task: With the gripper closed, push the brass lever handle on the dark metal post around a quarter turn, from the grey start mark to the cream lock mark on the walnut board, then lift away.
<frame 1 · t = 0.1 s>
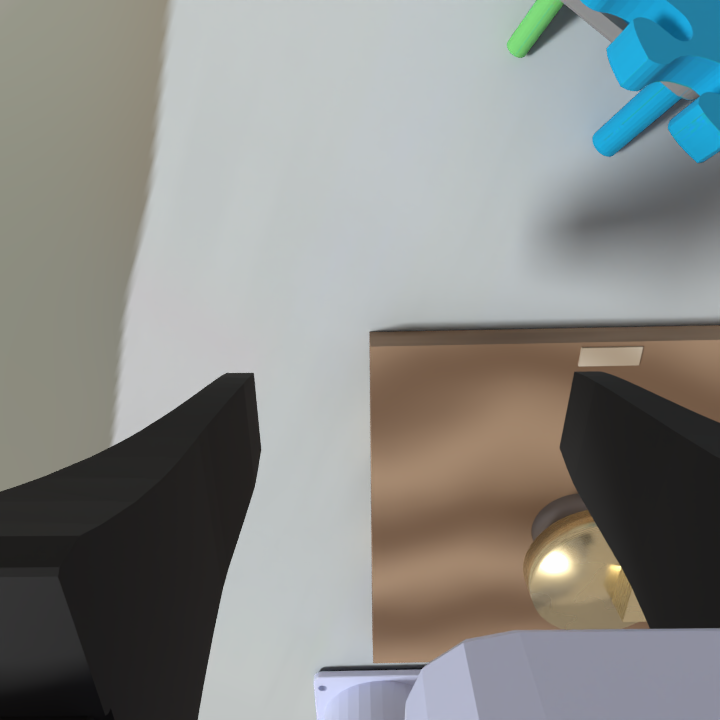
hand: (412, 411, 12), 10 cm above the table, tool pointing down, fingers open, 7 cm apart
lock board: (562, 505, 26), on the table
gear: (647, 36, 18), on the table
lever handle: (663, 581, 22), point 5 cm above the table, hinge at 0.0°
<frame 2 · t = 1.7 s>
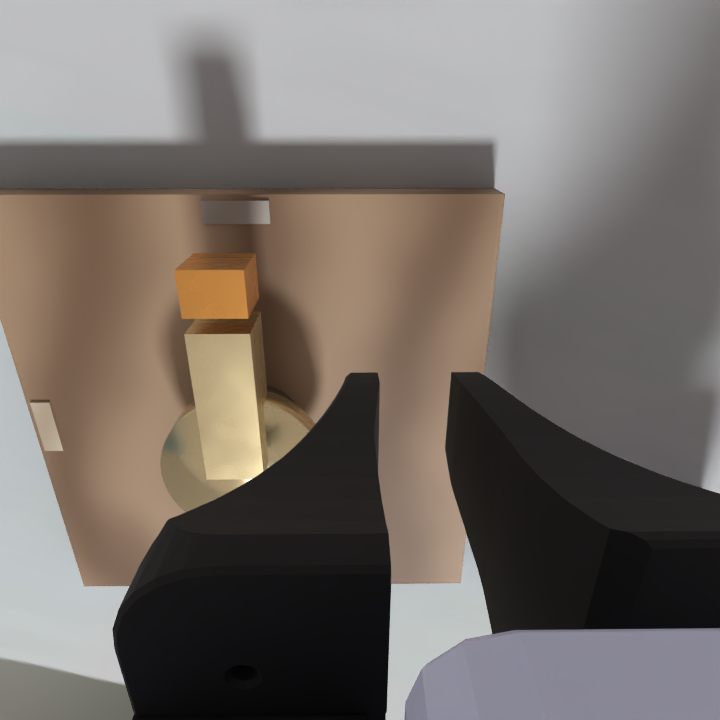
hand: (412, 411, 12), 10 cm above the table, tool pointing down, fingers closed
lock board: (262, 407, 24), on the table
lever handle: (236, 413, 18), point 5 cm above the table, hinge at 0.0°
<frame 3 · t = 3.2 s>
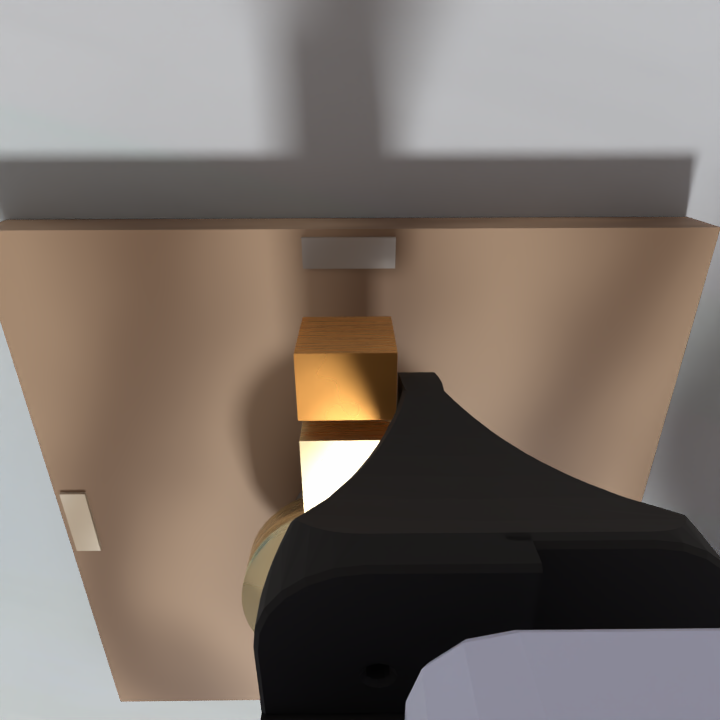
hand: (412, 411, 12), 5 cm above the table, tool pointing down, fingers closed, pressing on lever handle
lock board: (351, 489, 19), on the table
lever handle: (350, 530, 13), point 5 cm above the table, hinge at 0.3°, touching gripper
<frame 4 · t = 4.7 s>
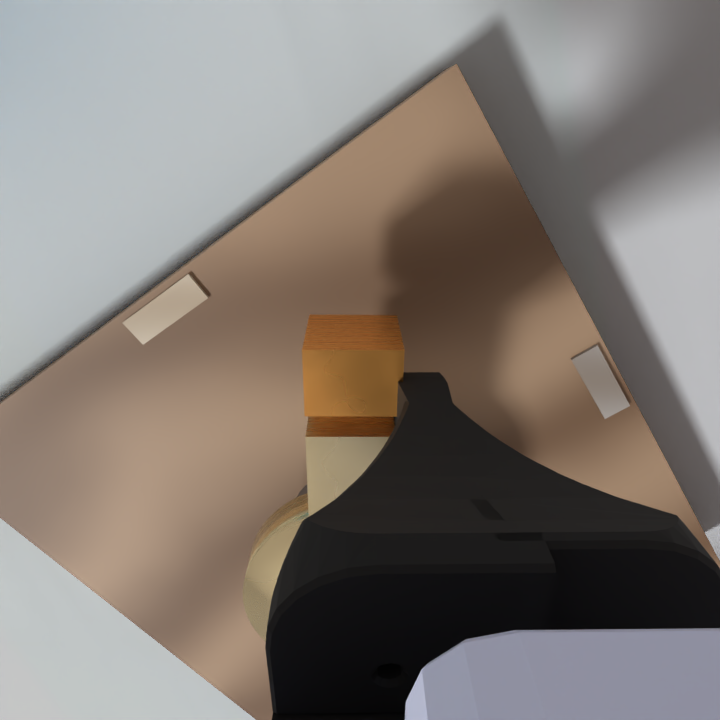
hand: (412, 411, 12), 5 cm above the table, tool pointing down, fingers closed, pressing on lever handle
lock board: (351, 488, 19), on the table
lever handle: (352, 527, 14), point 5 cm above the table, hinge at 55.1°, touching gripper
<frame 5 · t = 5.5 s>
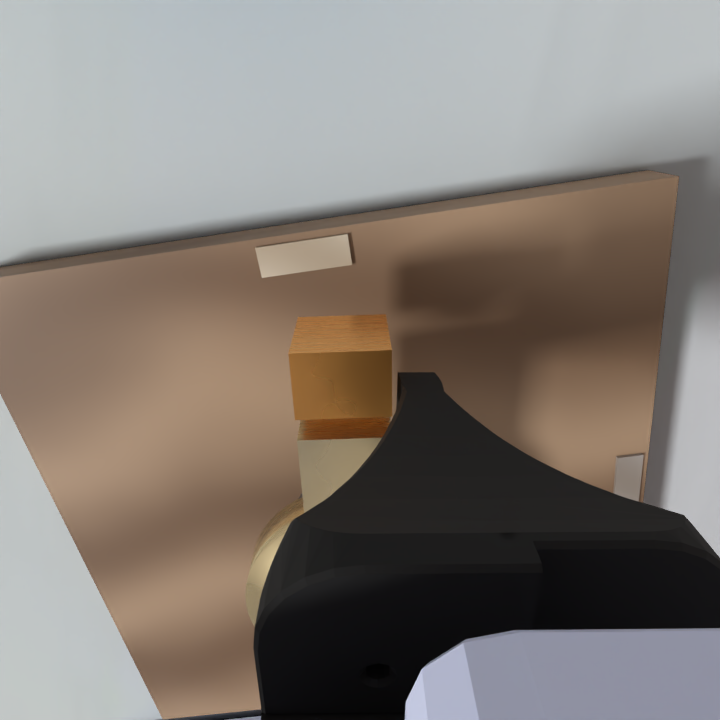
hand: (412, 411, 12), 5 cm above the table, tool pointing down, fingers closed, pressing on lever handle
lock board: (354, 488, 19), on the table
lever handle: (351, 529, 13), point 5 cm above the table, hinge at 83.7°, touching gripper
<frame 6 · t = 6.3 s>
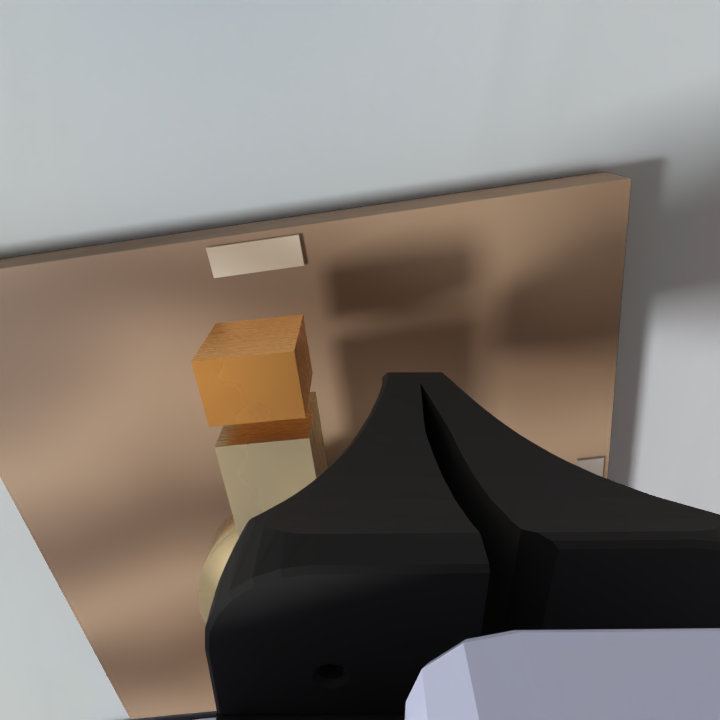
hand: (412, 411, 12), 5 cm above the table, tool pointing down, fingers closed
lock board: (318, 489, 19), on the table
lever handle: (293, 531, 13), point 5 cm above the table, hinge at 88.1°
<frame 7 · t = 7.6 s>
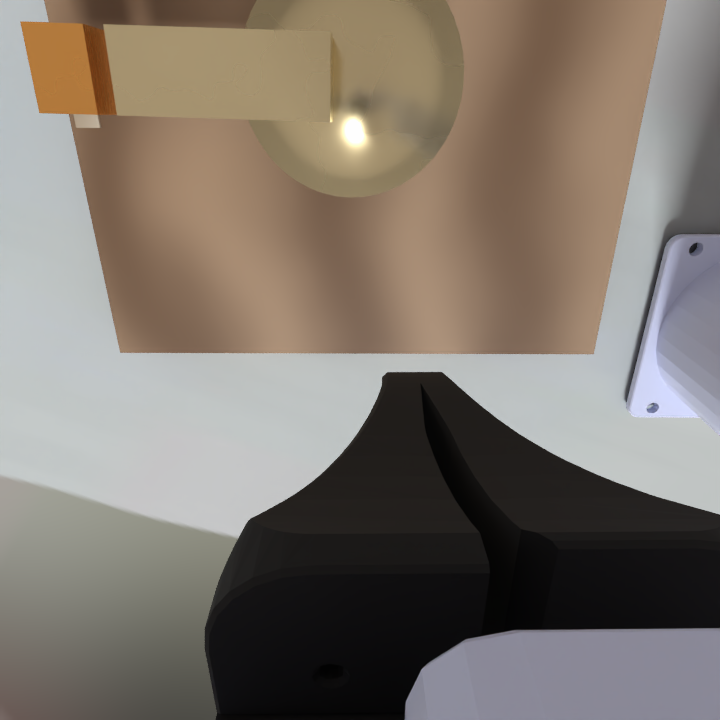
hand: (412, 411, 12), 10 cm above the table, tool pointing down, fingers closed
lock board: (355, 88, 18), on the table
lever handle: (258, 78, 14), point 5 cm above the table, hinge at 88.2°
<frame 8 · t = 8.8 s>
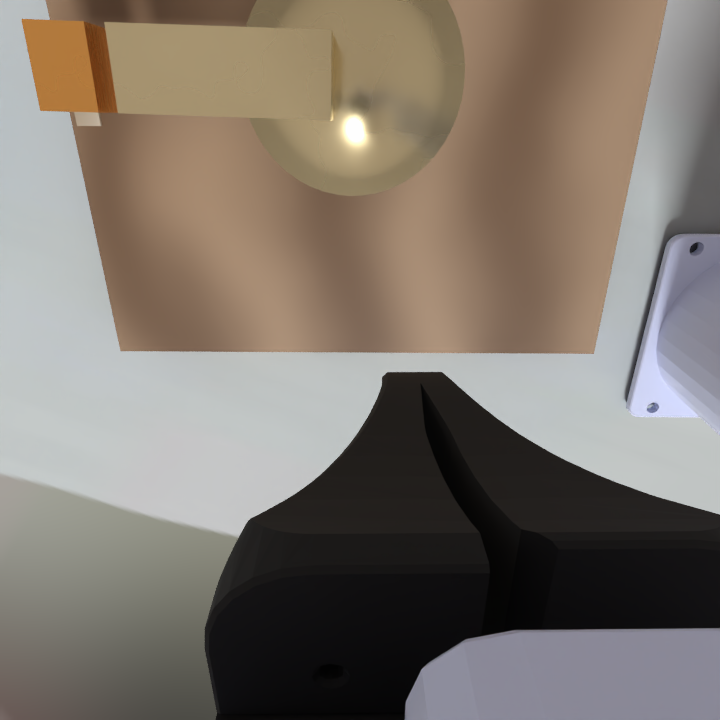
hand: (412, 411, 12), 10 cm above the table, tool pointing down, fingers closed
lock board: (355, 87, 18), on the table
lever handle: (259, 76, 14), point 5 cm above the table, hinge at 88.2°
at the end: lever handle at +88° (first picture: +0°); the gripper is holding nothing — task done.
